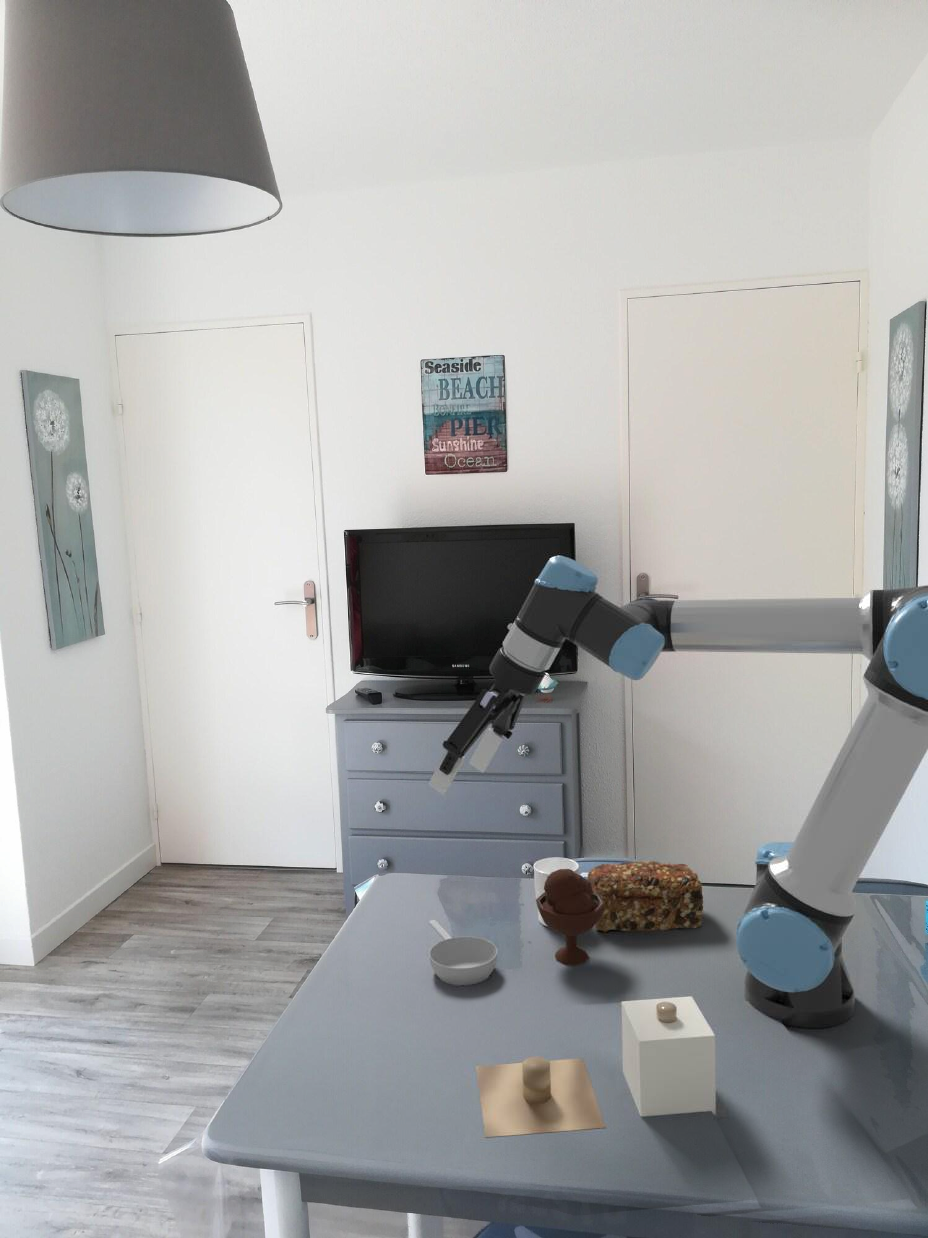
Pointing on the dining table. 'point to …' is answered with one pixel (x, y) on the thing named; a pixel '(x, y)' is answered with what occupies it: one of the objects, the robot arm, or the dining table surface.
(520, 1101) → the board
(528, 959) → the dining table surface
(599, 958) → the dining table surface
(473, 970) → the saucepan
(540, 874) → the white cup
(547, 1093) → the cork
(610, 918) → the bread
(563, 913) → the ice cream bowl
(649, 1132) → the dining table surface
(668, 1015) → the knobbed white box
